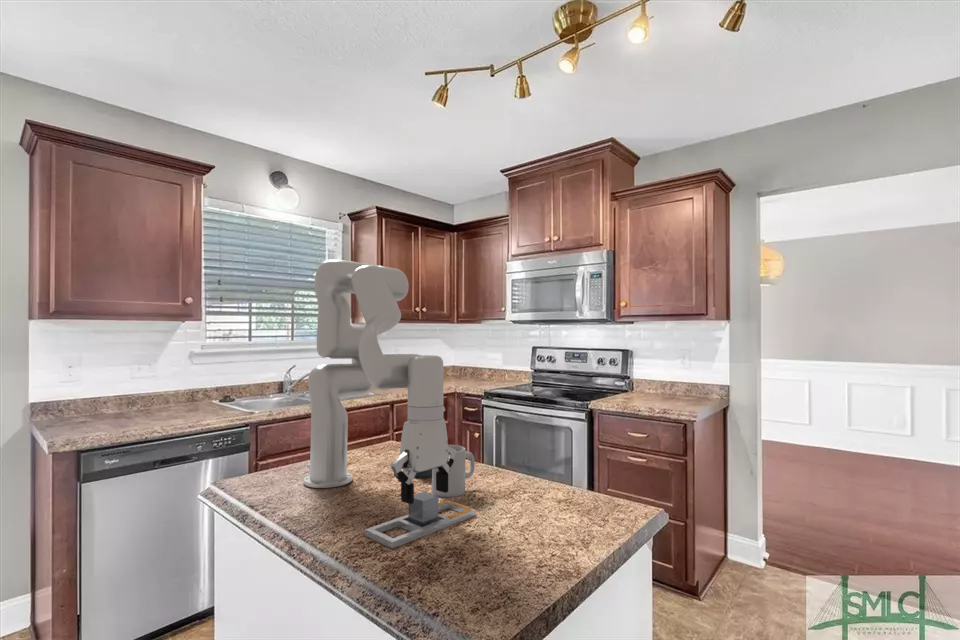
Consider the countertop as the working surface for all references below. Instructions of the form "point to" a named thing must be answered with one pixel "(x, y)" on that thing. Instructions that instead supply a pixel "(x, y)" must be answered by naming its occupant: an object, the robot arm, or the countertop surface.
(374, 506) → the countertop surface
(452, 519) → the grey flat frame
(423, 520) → the grey rectangular block
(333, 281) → the robot arm
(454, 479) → the mug
